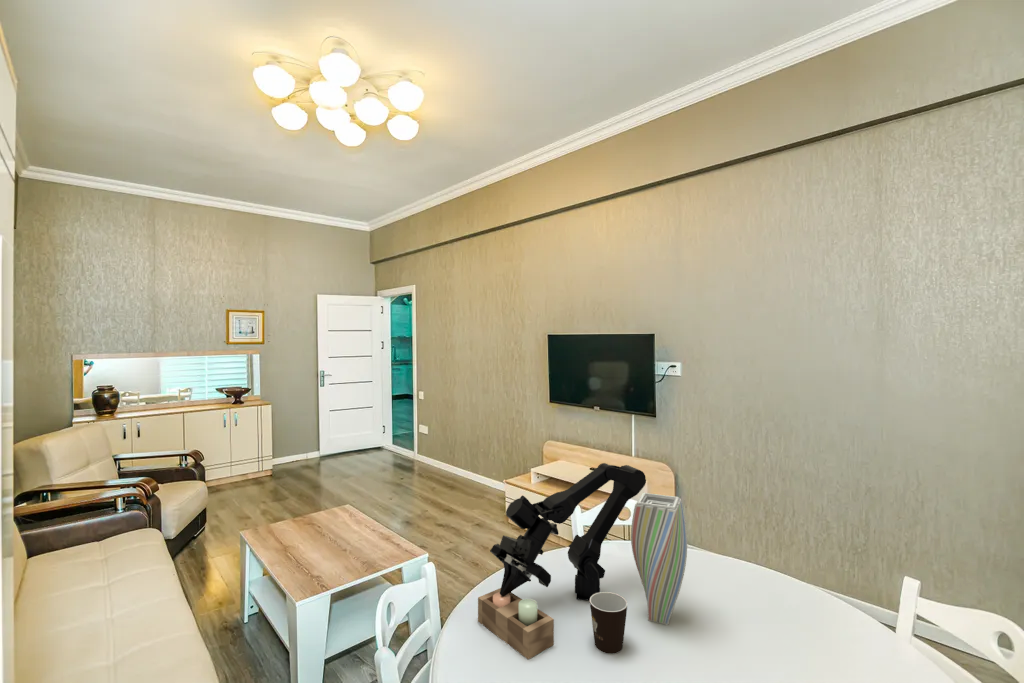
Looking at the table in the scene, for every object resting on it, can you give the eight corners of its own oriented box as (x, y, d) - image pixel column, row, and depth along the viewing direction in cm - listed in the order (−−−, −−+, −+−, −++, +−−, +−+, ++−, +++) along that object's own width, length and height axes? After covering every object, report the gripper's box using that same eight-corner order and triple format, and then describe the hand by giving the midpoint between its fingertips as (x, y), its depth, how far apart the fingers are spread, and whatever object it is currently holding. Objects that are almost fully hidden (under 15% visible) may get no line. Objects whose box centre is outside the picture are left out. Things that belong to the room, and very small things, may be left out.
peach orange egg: (503, 609, 121) (502, 590, 121) (514, 617, 117) (513, 597, 117) (489, 616, 118) (489, 596, 118) (500, 623, 115) (500, 603, 115)
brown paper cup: (628, 659, 104) (628, 613, 104) (589, 654, 106) (588, 609, 106) (626, 628, 115) (626, 587, 115) (590, 624, 117) (590, 584, 117)
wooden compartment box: (502, 610, 124) (502, 587, 124) (553, 644, 109) (553, 618, 109) (478, 621, 119) (478, 597, 119) (528, 659, 104) (528, 632, 104)
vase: (689, 610, 123) (688, 495, 124) (685, 639, 111) (684, 511, 111) (637, 598, 129) (636, 489, 129) (627, 625, 117) (626, 504, 117)
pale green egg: (528, 617, 113) (528, 596, 113) (541, 625, 110) (541, 604, 110) (514, 624, 110) (514, 603, 110) (527, 633, 107) (527, 611, 107)
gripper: (495, 513, 129) (461, 566, 121) (542, 534, 114) (507, 595, 107) (517, 535, 133) (486, 586, 126) (565, 557, 119) (533, 617, 112)
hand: (501, 595), depth 118 cm, fingers closed, pressing on peach orange egg
